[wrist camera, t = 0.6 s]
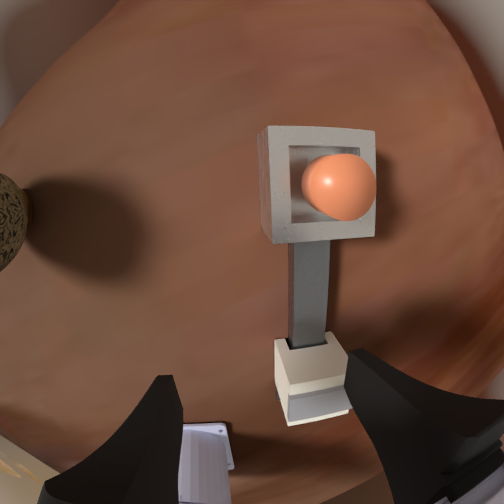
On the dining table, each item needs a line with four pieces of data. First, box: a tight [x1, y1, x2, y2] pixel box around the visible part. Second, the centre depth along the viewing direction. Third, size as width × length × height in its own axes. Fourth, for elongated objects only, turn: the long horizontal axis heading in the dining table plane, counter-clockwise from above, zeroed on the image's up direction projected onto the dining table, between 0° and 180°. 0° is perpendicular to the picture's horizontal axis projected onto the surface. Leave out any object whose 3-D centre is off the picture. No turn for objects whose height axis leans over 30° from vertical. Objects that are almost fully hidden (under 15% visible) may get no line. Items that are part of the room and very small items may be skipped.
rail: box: [276, 240, 330, 400], centre depth 20 cm, size 14×4×2 cm, turn 3°
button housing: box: [256, 126, 376, 244], centre depth 16 cm, size 6×6×4 cm
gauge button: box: [301, 154, 377, 221], centre depth 13 cm, size 3×3×2 cm
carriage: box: [274, 331, 352, 426], centre depth 19 cm, size 4×5×6 cm
